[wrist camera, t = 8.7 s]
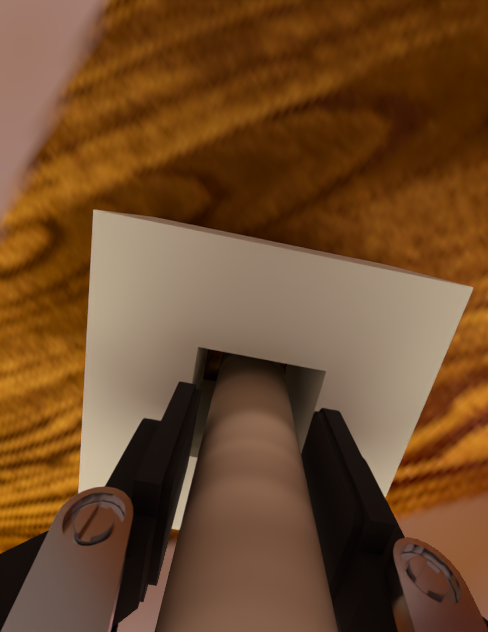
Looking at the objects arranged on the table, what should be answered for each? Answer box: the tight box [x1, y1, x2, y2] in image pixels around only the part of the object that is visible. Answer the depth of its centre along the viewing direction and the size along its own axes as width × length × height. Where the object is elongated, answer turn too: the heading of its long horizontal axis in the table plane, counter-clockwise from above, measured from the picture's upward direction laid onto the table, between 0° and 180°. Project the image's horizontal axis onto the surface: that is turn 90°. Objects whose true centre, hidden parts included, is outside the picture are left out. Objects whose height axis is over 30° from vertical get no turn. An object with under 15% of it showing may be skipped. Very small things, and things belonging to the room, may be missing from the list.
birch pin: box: [155, 352, 338, 632], centre depth 9 cm, size 3×3×12 cm
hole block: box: [78, 210, 474, 530], centre depth 14 cm, size 12×12×6 cm
